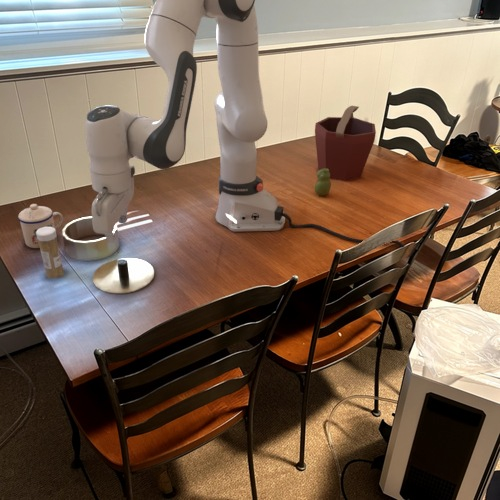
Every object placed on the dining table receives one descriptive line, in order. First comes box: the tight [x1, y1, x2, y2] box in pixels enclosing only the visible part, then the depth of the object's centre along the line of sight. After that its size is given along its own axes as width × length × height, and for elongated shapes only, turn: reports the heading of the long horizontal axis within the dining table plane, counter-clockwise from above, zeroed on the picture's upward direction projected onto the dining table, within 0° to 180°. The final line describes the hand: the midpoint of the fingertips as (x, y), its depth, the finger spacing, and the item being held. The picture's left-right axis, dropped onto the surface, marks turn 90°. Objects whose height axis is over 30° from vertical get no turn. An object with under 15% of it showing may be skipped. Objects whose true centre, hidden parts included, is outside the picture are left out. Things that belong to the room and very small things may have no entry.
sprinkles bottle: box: [36, 227, 65, 279], centre depth 124 cm, size 5×5×13 cm
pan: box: [61, 216, 121, 262], centre depth 137 cm, size 15×15×6 cm
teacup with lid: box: [17, 203, 64, 249], centre depth 139 cm, size 12×9×12 cm
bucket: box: [314, 105, 377, 182], centre depth 185 cm, size 24×22×25 cm
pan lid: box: [92, 257, 155, 295], centre depth 126 cm, size 16×16×5 cm
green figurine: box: [314, 168, 332, 197], centre depth 171 cm, size 6×5×10 cm
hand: (117, 231), depth 120 cm, fingers open, 8 cm apart
